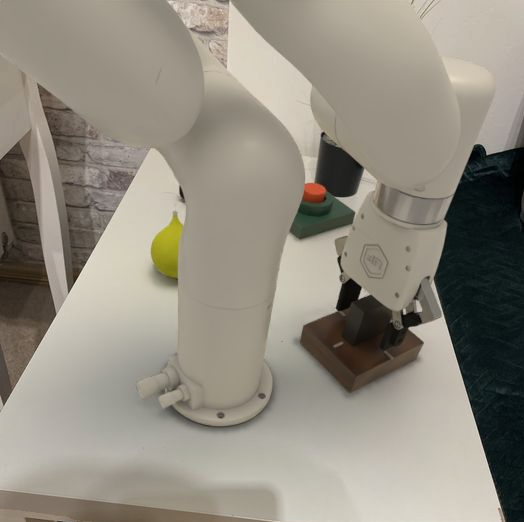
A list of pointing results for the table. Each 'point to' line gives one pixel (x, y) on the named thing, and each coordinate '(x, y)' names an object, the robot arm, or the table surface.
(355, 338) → the grey square slab
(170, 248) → the ornament
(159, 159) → the table surface
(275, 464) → the table surface
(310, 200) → the button
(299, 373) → the table surface
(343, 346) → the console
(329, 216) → the button box
